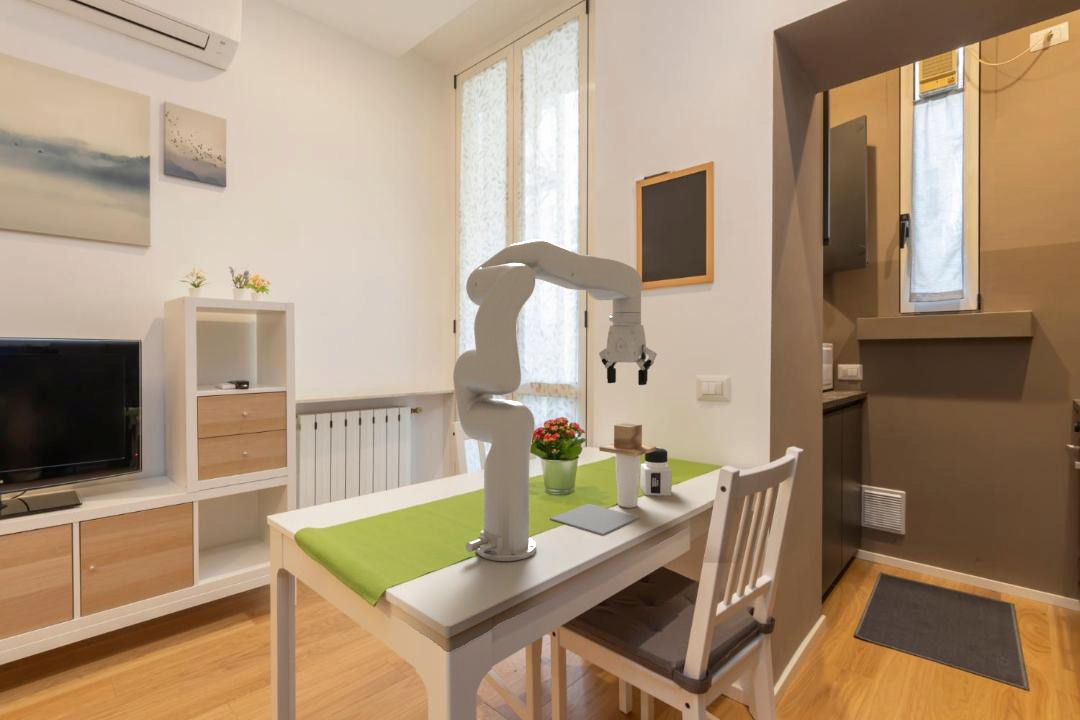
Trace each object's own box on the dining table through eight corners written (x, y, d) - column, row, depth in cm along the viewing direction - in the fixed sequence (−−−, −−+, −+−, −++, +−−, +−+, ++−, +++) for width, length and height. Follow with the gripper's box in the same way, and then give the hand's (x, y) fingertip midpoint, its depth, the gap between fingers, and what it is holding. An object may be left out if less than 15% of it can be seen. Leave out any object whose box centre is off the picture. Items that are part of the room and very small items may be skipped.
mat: (602, 535, 118) (602, 533, 118) (549, 519, 129) (549, 517, 129) (639, 518, 130) (639, 516, 130) (588, 505, 141) (588, 503, 141)
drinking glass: (639, 502, 144) (639, 448, 143) (641, 509, 137) (642, 453, 137) (614, 501, 144) (614, 447, 144) (615, 508, 138) (616, 452, 137)
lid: (634, 456, 133) (634, 429, 132) (599, 450, 140) (599, 425, 140) (656, 450, 141) (656, 424, 141) (621, 445, 148) (622, 420, 148)
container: (671, 496, 150) (672, 451, 150) (645, 495, 150) (645, 451, 150) (665, 488, 158) (666, 446, 157) (640, 488, 158) (640, 446, 158)
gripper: (592, 320, 142) (592, 383, 142) (648, 318, 130) (648, 386, 131) (607, 321, 147) (607, 381, 148) (662, 319, 136) (662, 384, 136)
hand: (626, 383), depth 139 cm, fingers open, 9 cm apart
